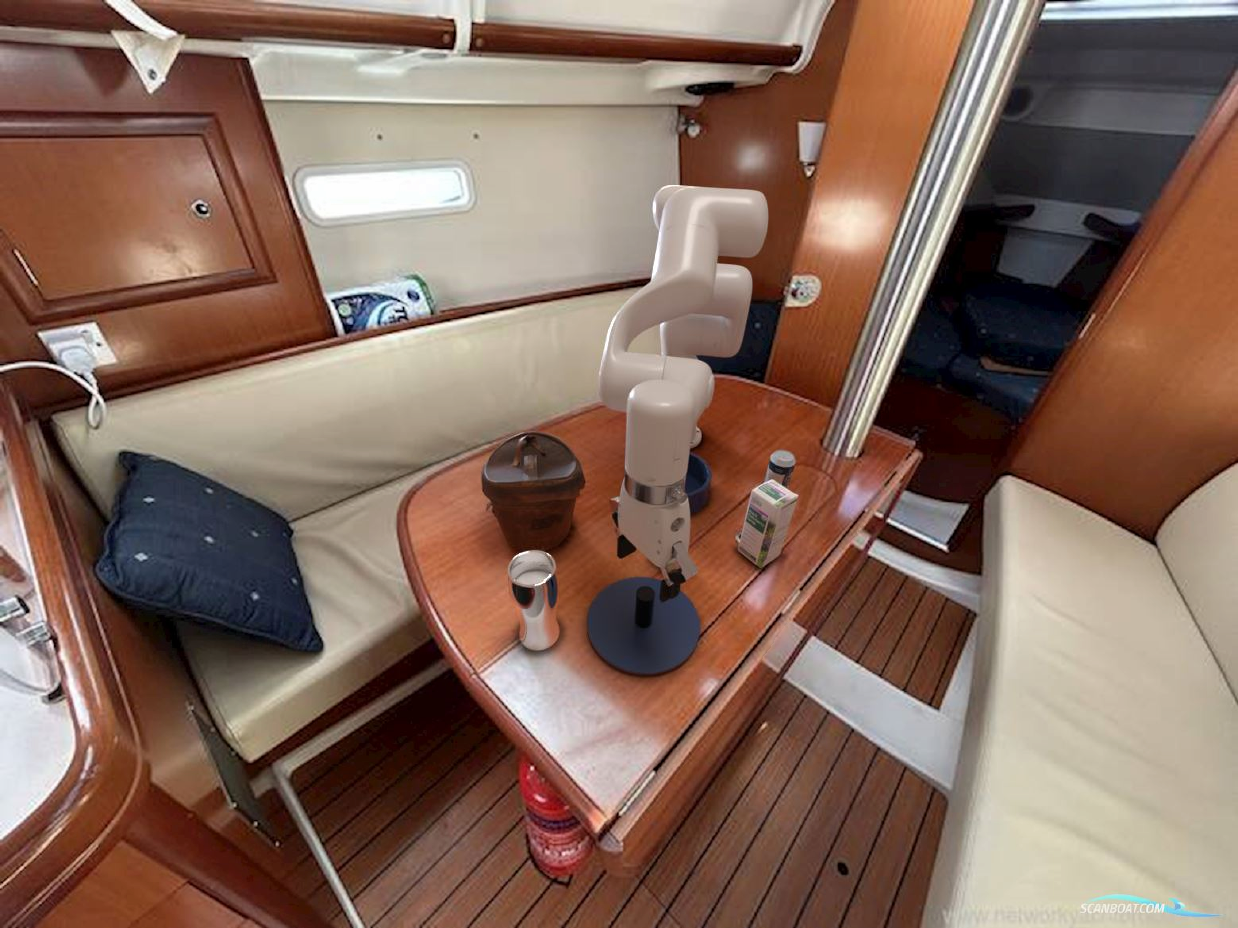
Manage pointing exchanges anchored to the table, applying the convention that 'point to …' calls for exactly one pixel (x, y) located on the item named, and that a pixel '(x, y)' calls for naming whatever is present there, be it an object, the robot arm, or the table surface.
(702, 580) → the table surface
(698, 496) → the pot
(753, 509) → the syrup box
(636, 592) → the lid
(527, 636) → the beer glass
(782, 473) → the pill bottle
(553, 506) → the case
